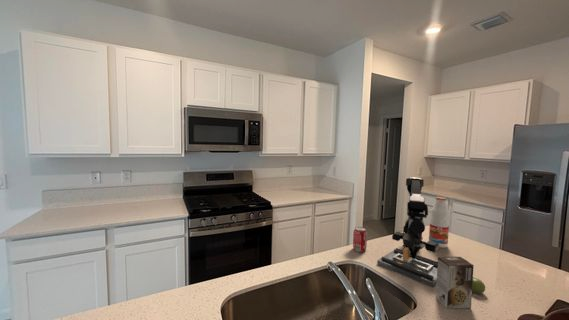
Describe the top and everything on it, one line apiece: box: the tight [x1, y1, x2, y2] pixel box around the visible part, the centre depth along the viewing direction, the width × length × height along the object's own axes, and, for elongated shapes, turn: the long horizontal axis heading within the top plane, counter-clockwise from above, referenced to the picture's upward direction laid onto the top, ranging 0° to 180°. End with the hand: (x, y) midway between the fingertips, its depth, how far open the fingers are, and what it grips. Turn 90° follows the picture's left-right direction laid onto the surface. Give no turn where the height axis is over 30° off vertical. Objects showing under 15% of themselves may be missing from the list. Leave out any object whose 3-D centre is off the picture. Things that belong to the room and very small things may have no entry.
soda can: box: [352, 226, 368, 253], centre depth 129 cm, size 7×7×12 cm
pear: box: [472, 276, 486, 295], centre depth 96 cm, size 6×5×10 cm
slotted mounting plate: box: [380, 247, 438, 280], centre depth 112 cm, size 22×17×1 cm
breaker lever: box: [401, 247, 412, 262], centre depth 114 cm, size 3×4×6 cm
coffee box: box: [435, 256, 474, 309], centre depth 87 cm, size 9×6×16 cm
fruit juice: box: [428, 196, 450, 249], centre depth 138 cm, size 9×9×28 cm
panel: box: [376, 249, 437, 288], centre depth 112 cm, size 20×24×3 cm
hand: (413, 258), depth 112 cm, fingers closed
